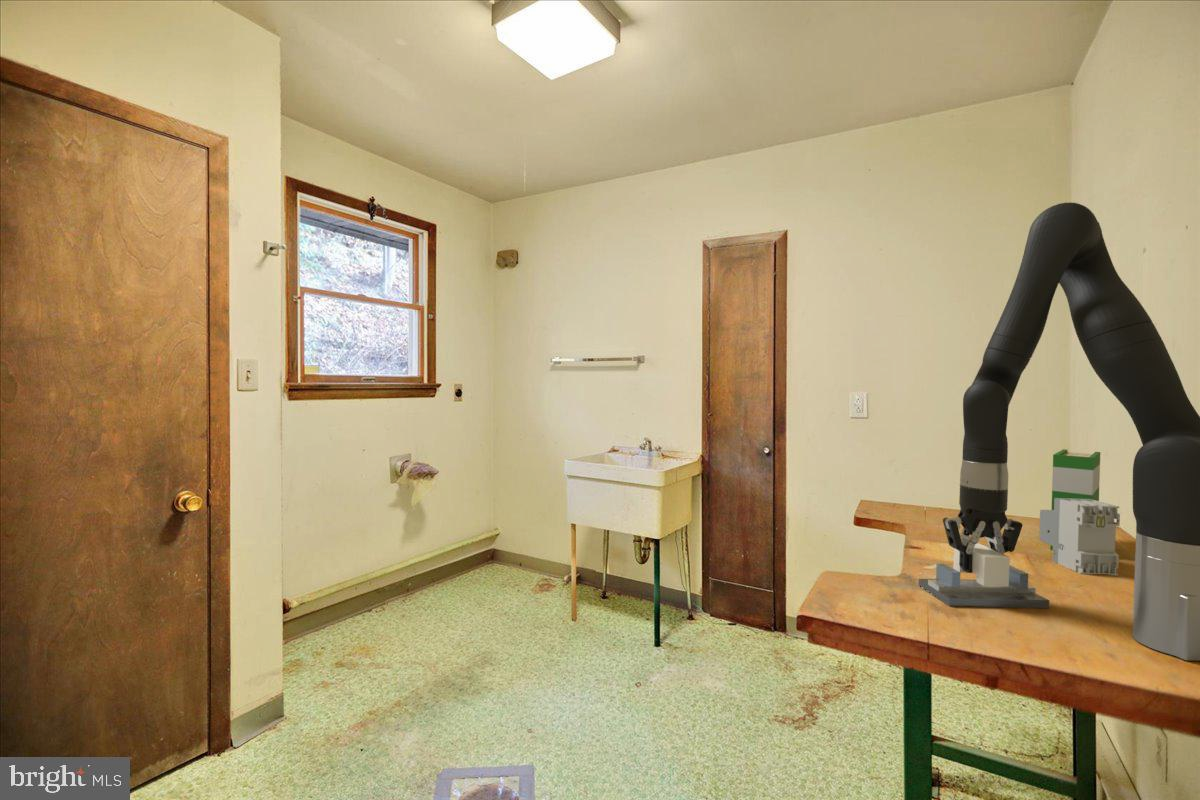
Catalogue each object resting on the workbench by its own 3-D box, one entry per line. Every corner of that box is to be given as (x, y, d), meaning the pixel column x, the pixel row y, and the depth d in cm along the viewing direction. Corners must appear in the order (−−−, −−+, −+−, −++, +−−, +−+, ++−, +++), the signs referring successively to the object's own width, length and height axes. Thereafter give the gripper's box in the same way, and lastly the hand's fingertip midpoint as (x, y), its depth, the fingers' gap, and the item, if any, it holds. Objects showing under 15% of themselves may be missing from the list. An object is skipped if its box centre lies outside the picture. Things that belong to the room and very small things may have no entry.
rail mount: (1049, 608, 97) (1050, 578, 97) (949, 606, 98) (949, 576, 98) (1009, 587, 107) (1009, 560, 107) (918, 585, 108) (919, 559, 108)
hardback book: (1060, 536, 145) (1063, 449, 144) (1097, 542, 139) (1100, 452, 139) (1050, 550, 133) (1053, 454, 132) (1090, 557, 127) (1093, 457, 127)
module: (1008, 586, 98) (1009, 557, 98) (983, 585, 99) (984, 556, 98) (976, 569, 107) (977, 542, 107) (953, 568, 108) (954, 542, 107)
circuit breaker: (1066, 554, 129) (1068, 493, 129) (1117, 575, 115) (1120, 506, 115) (1033, 553, 130) (1035, 492, 130) (1080, 574, 116) (1082, 505, 115)
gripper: (957, 487, 99) (954, 578, 99) (1036, 489, 98) (1033, 580, 99) (934, 480, 106) (931, 564, 107) (1007, 481, 106) (1004, 566, 106)
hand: (980, 571), depth 103 cm, fingers closed on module, 4 cm apart
